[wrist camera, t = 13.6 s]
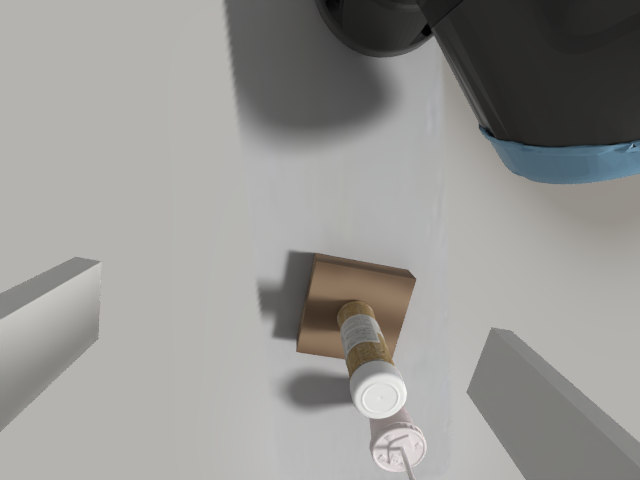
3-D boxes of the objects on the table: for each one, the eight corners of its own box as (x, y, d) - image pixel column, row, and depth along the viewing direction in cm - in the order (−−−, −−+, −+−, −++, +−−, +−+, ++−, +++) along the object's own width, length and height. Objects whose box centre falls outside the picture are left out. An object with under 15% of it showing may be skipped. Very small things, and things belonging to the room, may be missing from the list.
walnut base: (315, 253, 41) (316, 261, 38) (408, 270, 42) (416, 279, 39) (296, 338, 44) (296, 351, 41) (383, 351, 45) (389, 365, 42)
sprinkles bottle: (374, 331, 41) (407, 418, 28) (337, 334, 40) (353, 424, 28) (373, 297, 39) (408, 372, 26) (335, 300, 39) (351, 377, 26)
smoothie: (409, 378, 46) (454, 473, 33) (390, 414, 48) (425, 519, 34) (368, 365, 45) (397, 457, 32) (349, 402, 47) (369, 505, 33)
